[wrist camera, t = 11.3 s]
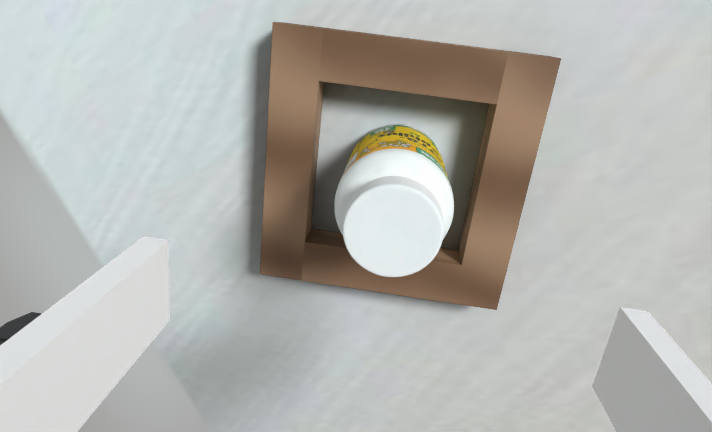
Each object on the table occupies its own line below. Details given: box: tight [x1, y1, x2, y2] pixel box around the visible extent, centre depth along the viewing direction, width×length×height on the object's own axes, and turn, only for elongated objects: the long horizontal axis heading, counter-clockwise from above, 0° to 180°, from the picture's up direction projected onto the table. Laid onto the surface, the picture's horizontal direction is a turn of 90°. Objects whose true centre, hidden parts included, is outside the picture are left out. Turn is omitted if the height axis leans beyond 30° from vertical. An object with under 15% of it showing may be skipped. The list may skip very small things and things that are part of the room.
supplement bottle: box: [334, 124, 454, 277], centre depth 24 cm, size 5×5×10 cm
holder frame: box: [260, 22, 561, 310], centre depth 27 cm, size 14×14×2 cm
